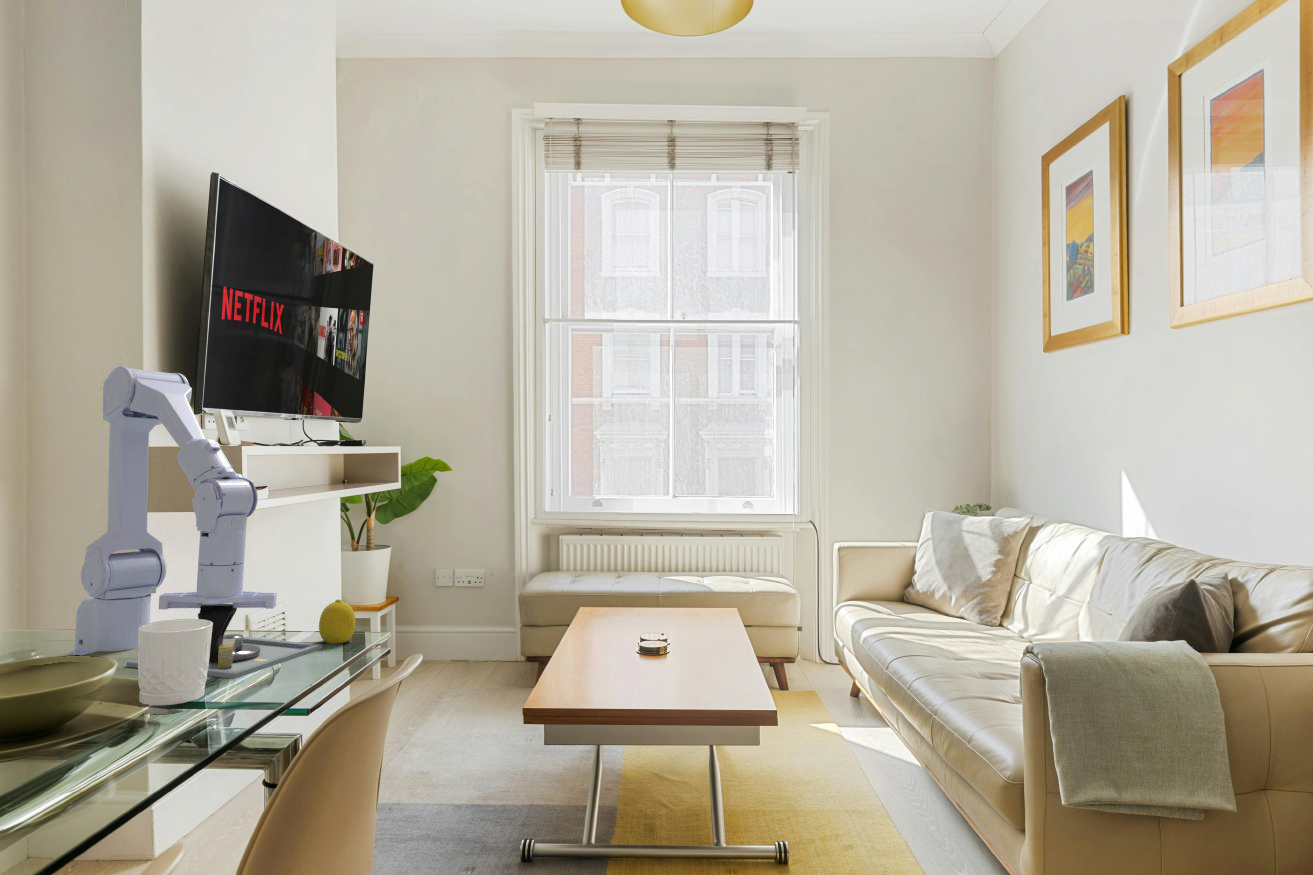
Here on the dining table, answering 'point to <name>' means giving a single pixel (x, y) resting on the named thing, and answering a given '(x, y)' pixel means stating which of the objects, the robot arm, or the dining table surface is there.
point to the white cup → (173, 662)
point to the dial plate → (258, 657)
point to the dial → (235, 650)
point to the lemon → (337, 623)
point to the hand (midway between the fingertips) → (215, 659)
